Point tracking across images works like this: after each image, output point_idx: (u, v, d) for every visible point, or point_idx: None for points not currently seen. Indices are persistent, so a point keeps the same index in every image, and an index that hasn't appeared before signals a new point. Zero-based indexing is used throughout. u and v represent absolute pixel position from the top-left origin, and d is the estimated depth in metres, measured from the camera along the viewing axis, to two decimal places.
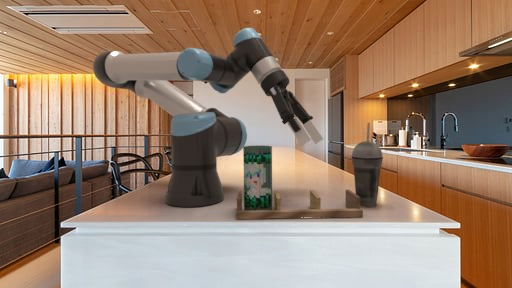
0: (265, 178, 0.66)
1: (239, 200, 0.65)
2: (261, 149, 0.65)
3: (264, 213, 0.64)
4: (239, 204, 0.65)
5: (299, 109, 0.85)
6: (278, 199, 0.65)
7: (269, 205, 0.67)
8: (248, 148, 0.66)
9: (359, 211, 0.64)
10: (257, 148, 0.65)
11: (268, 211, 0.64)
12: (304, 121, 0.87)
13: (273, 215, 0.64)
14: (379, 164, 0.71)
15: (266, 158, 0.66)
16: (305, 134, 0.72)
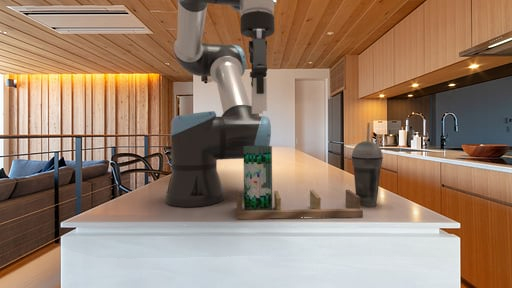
0: (265, 178, 0.66)
1: (239, 200, 0.65)
2: (261, 149, 0.65)
3: (264, 213, 0.64)
4: (239, 204, 0.65)
5: None
6: (278, 199, 0.65)
7: (269, 205, 0.67)
8: (248, 148, 0.66)
9: (359, 211, 0.64)
10: (257, 148, 0.65)
11: (268, 211, 0.64)
12: None
13: (273, 215, 0.64)
14: (379, 164, 0.71)
15: (266, 158, 0.66)
16: (264, 102, 0.61)
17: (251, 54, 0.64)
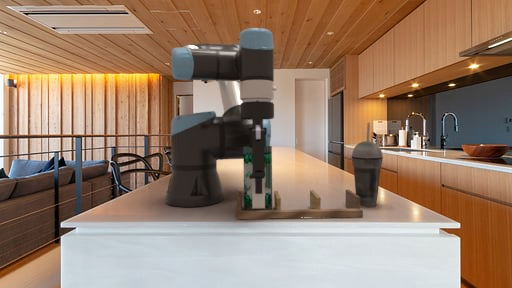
0: (265, 178, 0.66)
1: (239, 200, 0.65)
2: None
3: (264, 213, 0.64)
4: (239, 204, 0.65)
5: None
6: (278, 199, 0.65)
7: (269, 205, 0.67)
8: (248, 148, 0.66)
9: (359, 211, 0.64)
10: None
11: (268, 211, 0.64)
12: None
13: (273, 215, 0.64)
14: (379, 164, 0.71)
15: (266, 158, 0.66)
16: (262, 200, 0.65)
17: (251, 146, 0.66)
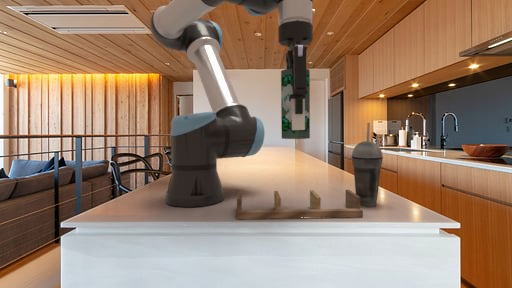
0: None
1: (239, 200, 0.65)
2: None
3: (264, 213, 0.64)
4: (239, 204, 0.65)
5: None
6: (278, 199, 0.65)
7: (308, 129, 0.66)
8: (287, 70, 0.65)
9: (359, 211, 0.64)
10: None
11: (268, 211, 0.64)
12: None
13: (273, 215, 0.64)
14: (379, 164, 0.71)
15: None
16: (302, 121, 0.64)
17: (290, 68, 0.65)
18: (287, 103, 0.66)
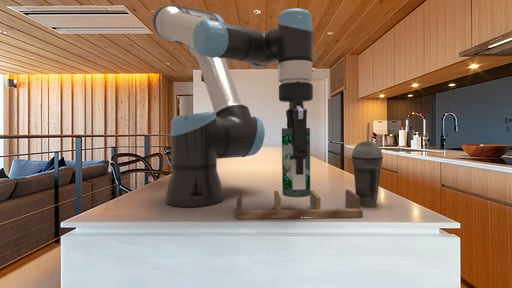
0: (305, 159, 0.66)
1: (239, 200, 0.65)
2: None
3: (264, 213, 0.64)
4: (239, 204, 0.65)
5: None
6: (278, 199, 0.65)
7: (308, 187, 0.67)
8: (287, 129, 0.66)
9: (359, 211, 0.64)
10: None
11: (268, 211, 0.64)
12: None
13: (273, 215, 0.64)
14: (379, 164, 0.71)
15: None
16: (303, 181, 0.65)
17: (290, 127, 0.66)
18: (288, 162, 0.66)
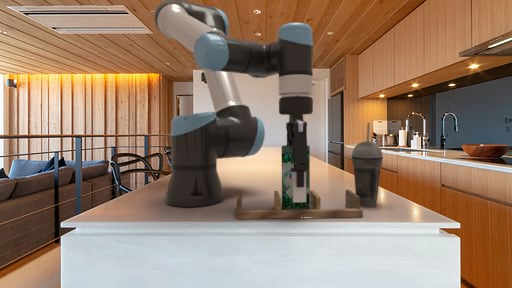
0: None
1: (239, 200, 0.65)
2: None
3: (264, 213, 0.64)
4: (239, 204, 0.65)
5: None
6: (278, 199, 0.65)
7: (308, 204, 0.68)
8: (287, 147, 0.66)
9: (359, 211, 0.64)
10: None
11: (268, 211, 0.64)
12: None
13: (273, 215, 0.64)
14: (379, 164, 0.71)
15: None
16: (303, 194, 0.64)
17: (290, 140, 0.66)
18: (287, 179, 0.67)
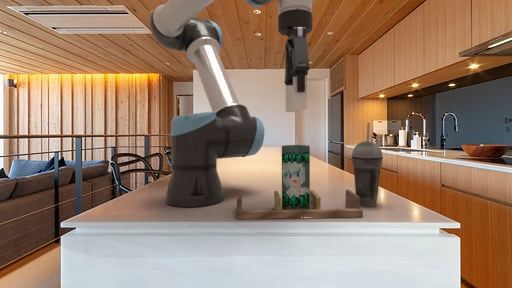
0: (304, 177, 0.66)
1: (239, 200, 0.65)
2: (301, 148, 0.66)
3: (264, 213, 0.64)
4: (239, 204, 0.65)
5: None
6: (278, 199, 0.65)
7: (308, 204, 0.68)
8: (287, 147, 0.66)
9: (359, 211, 0.64)
10: (297, 147, 0.65)
11: (268, 211, 0.64)
12: (289, 82, 0.75)
13: (273, 215, 0.64)
14: (379, 164, 0.71)
15: (305, 157, 0.66)
16: (304, 100, 0.61)
17: (290, 52, 0.64)
18: (287, 179, 0.67)
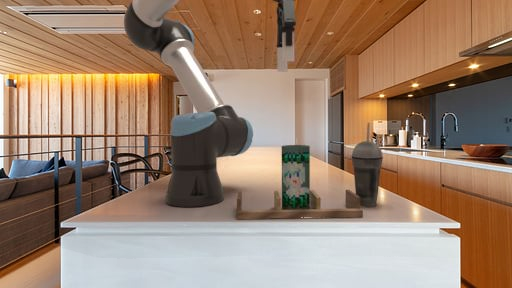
0: (304, 177, 0.66)
1: (239, 200, 0.65)
2: (301, 148, 0.66)
3: (264, 213, 0.64)
4: (239, 204, 0.65)
5: (286, 31, 0.82)
6: (278, 199, 0.65)
7: (308, 204, 0.68)
8: (287, 147, 0.66)
9: (359, 211, 0.64)
10: (297, 147, 0.65)
11: (268, 211, 0.64)
12: (280, 45, 0.85)
13: (273, 215, 0.64)
14: (379, 164, 0.71)
15: (305, 157, 0.66)
16: (292, 53, 0.71)
17: (280, 14, 0.74)
18: (287, 180, 0.67)
